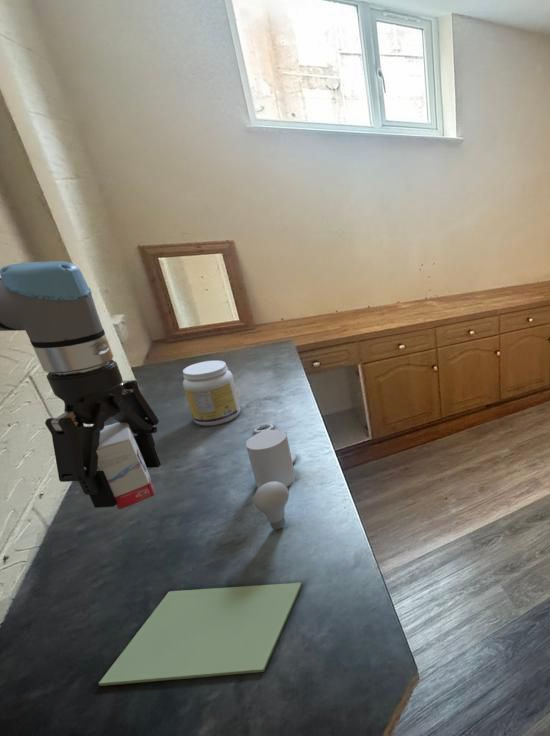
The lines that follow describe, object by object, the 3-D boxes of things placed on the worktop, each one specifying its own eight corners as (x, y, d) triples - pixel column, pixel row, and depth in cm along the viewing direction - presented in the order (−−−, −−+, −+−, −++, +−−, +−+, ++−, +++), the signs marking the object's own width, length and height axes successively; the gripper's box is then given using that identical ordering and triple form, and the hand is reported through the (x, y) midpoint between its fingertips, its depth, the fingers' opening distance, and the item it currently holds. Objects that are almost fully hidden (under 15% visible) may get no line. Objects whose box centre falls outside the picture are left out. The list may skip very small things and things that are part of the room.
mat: (99, 686, 56) (98, 683, 55) (169, 593, 69) (169, 591, 68) (264, 671, 58) (263, 669, 58) (302, 584, 71) (301, 582, 71)
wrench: (277, 472, 100) (299, 463, 103) (275, 467, 99) (298, 458, 102) (252, 430, 116) (272, 424, 119) (250, 425, 115) (271, 419, 119)
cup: (302, 471, 99) (293, 430, 95) (281, 494, 92) (271, 450, 87) (271, 469, 100) (262, 428, 96) (248, 491, 93) (237, 448, 88)
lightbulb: (287, 512, 87) (278, 471, 83) (300, 526, 83) (291, 483, 79) (257, 528, 82) (245, 486, 78) (269, 544, 79) (257, 500, 75)
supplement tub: (203, 409, 126) (189, 361, 120) (247, 405, 130) (235, 357, 124) (187, 430, 115) (170, 377, 109) (235, 424, 119) (221, 373, 113)
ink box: (155, 497, 68) (132, 438, 63) (115, 512, 64) (88, 451, 60) (150, 473, 74) (129, 418, 69) (112, 486, 70) (88, 429, 66)
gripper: (37, 399, 50) (100, 533, 59) (159, 340, 71) (194, 446, 79) (-31, 401, 50) (43, 536, 58) (113, 341, 70) (153, 448, 78)
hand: (130, 484), depth 68 cm, fingers closed on ink box, 9 cm apart
